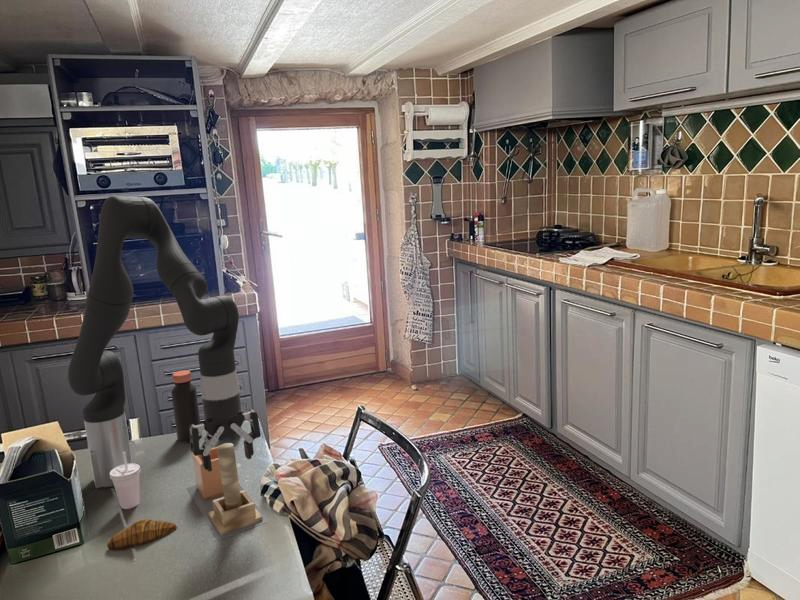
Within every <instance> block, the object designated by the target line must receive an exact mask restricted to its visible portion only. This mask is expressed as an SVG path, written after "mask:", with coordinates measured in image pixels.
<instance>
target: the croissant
mask: <svg viewBox="0 0 800 600" xmlns="http://www.w3.org/2000/svg"><path fill="white" fill-rule="evenodd" d="M177 528H178V527H177V525H176V524H175V523H173V522H171V521H164V520H154V519H150V518H148V519H139V520H137V521H135V522H133V523H132V524H131V525H129V526H128V527H126V528H124V529H122V530H121V531H119V532H117V533H115V534H114V535H113V536H112V537H111V538H110V539H109V540H108V541H107V545H106V546H107V549H108V550H109V551H123V550H129V549H134V548H135V549H136V547H135V546H139V545H144V544H146V543H150V542H152V541H154V540H155V541H156V540H157V539H161V538H163V537H165V536H167V535H168V534H172V533H173V532H175V531H176V530H177Z"/></svg>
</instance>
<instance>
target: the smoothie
mask: <svg viewBox="0 0 800 600" xmlns="http://www.w3.org/2000/svg"><path fill="white" fill-rule="evenodd" d="M123 457H124V463H125V464H124V465H120V466H118V467H116V468H114V469H112V470H111V471H110V479H112V481H113V483H112V484H113V488H114V490H115V492H116V493H115V494H116V496H117V499H118V502H119V504H120V508H121V509H124V510H129V509H133V508H135V507H136V506H139V504H140V473H141V466H140V465H139V464H138V463H135V462H134V463H129V464H127V459H126V452H123Z"/></svg>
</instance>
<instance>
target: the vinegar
mask: <svg viewBox="0 0 800 600" xmlns="http://www.w3.org/2000/svg"><path fill="white" fill-rule="evenodd" d="M172 381H173V384H174V387H173V389H172V390H171V391H170V392H171V394H170V395H171V400H172V401H171V402H172V408H173V414H174V415H173V416H174V422H175V431H176V437H177V440H178V441H179V442H180V443H188V442H189V443H190V432H189V426H190V425H192V424H194V425H195V426H196V425H201V418H200V417H201V416H200V409H199V399H198V393H197V387H196V386H195V385H193V383H191V382H192V374H191V370H179V371H175V372H174V373H172ZM202 435H203V433H202V434H201V435H200V436H199V439H200V438H201V437H202Z"/></svg>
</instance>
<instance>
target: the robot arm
mask: <svg viewBox="0 0 800 600" xmlns="http://www.w3.org/2000/svg"><path fill="white" fill-rule="evenodd" d="M97 231H98V233H97V241H96V243H97V244H96V253H95V258H94V265H93V271H92V275H91V279H90V283H89V288H88V291H87V298H86V301H85V308H84V313H83V319H82V322H81V327H80V331H79V335H78V339H77V341H76V345H75V347H74V350H73V353H72V356H71V359H70V362H69V366H68V371H67V376H68V377H67V378H68V379H67V380H68V384H69V387H70V388H71V389H70V390H72V392H74V393H75V394H76V395H79V396H83V397H84V396H85V397H86V396H90V395H93V394H94V396H93V397H92V399H90V401H89V402H88V403H87V404H86V405H84V407H83V409H82V417H83V423H84V428H85V429H84V430H85V434H86V435H85V436H86V440H87V449H88V451H87V452H88V455H89V462H90V468H91V474H92V480H93V482H94V486H95V489H100V488H109V487H110V488H111V487H114V484H113V481H112V479H110V471H111V470H112V469H114V468H116V467H118V466H120V465H124V464H125V463H124V457H123V452H126V459H127V464H129V463H133V457H132V451H131V444H130V437H129V429H128V425H127V423H128V422H127V418H126V411H125V403H126V398H127V397H126V389H125V388H126V387H125V378H124V377H125V376H124V369H123V365H122V363H121V360H120V358H119V356H118V355H117V354H116V353H115V352H114V351H111V350H106V347H108V345H109V343H110V342H111V340H112V339H113V338H114V337H115V335H116V334H117V333H118V331H120V329H121V328H122V326H123V325H124V323H125V322H126V320H127V318H128V316H129V313H130V311H131V310H130V309H131V305H132V302H133V298H134V287H133V283H132V281H131V278H130V276H129V274H128V273H127V271H126V269H125V267H124V265H123V261H122V250H123V246H124V243H125V240H126V239H127V240H128V239H129V240H130V239H146V240H147V241H149V242H150V243H151V244H152V246H154V247H155V249H156V270H157V271H156V272H157V274H158V276H159V279H160V280H161V282H162V283H163V285H164V286H165V287H166V288H167V289H168V291H169V292H170V293H171V294H172V296H173V298H175V301H176V304H177V306H178V309H179V311H180V313H181V317H182V320H183V323H184V326H185V327H186V329H187V330H188V331H190V332H191V333H192V334H194V335H197V336H206V335H210V334H212V338H211V339H210V340H208V342H206V343H204V344H203V345H201V346H200V347H199V349H198V351H197V352H198V353H197V355H198V365H199V373H200V393H201V401H202V408H203V415H204V416H203V417H204V420H203V423H202V424H201V423H200V424H201V425H196V426H195V425H194V424H192V425H190V426H189V432H190V442H189V443H190V444H189V445H190V452H192V454H194V455H195V456H197V455H201V457H202V465H203V467H204V468H205V470H207V471H208V472H209V471H212V466H211V457H210V454H209V452H210V450H211V449H212V448H214V447H215V446H216V444H217V443H218V441H220V442H221V441H224V440H226V439H231V438H235V436H237V435H238V436H240V437H241V438H242V439H243V446H244V448H243V449H244V456H245V458H246V459H247V460H251V459H252V456H254V454H255V451H254V443H253V442H254V440H255V439H259V438H260V437H261V435H262V434H261V429H260V428H261V427H260V421H259V417H258V413H257V412H256V411H255V410H254V409H252V408H250V409H248V411H246V412H244V413H243V412H242V411H243V409H242V402H241V395H240V394H241V391H240V384H239V377H238V374H237V369H236V358H235V344H236V340H237V335H238V326H239V318H240V317H239V309H238V306H237V304H236V303H235V301H234V300H233V298H232V297H230V296H227V295H224V294H223V295H217V296H212V297H207V298H204V299H202V298H203V297H204V296H206V294H207V292H208V288H209V286H208V283H207V280H206V279H205V277H204V276H203V275H202V274H201V273H200V271H199V270H198V269H197V268H196V266H195V265H194V264H193V263H192V262H191V260H190V259H189V258H188V256H187V255H186V254H185V252H184V251H183V249H182V248H181V246H180V244H179V243H178V241H177V239H176V237H175V234H174V233H173V231H172V229H171V227H170V225H169V224H168V222H167V220H166V218H165V216H164V215H163V213H162V210H161V209H160V208H159V206H158V205H157V204H156V203H155V201H154V200H152V199H151V198H148V197H145V196H136V195H135V196H131V195H129V196H128V195H112V196H109V197H108V198H106V199H105V200H104V202H103V204H102V206H101V210H100V214H99V220H98V230H97ZM245 420H246V421H247V422H249V425H250V432H249V433H248V432H246V431H245V429H244V428H242V425H243V423H244V422H245ZM203 431H205V432H206V435H205V437H204V439H203V440H204V441H203V442H202V444H201V445H200V438H199V436H200V435H201V434H202V435H203ZM202 435H201V436H202Z"/></svg>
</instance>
